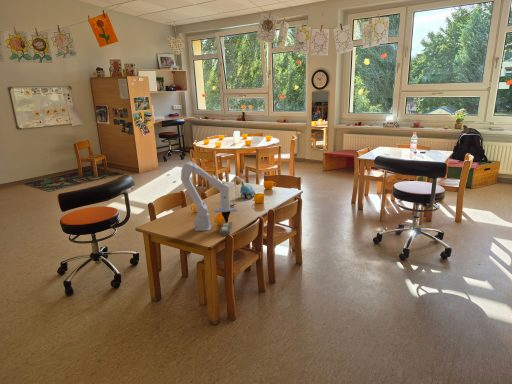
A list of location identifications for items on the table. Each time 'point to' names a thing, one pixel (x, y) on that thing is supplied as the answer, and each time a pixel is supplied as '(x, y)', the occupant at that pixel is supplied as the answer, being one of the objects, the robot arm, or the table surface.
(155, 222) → the table surface
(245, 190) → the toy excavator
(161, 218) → the table surface
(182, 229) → the table surface
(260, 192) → the table surface
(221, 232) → the grey button panel
